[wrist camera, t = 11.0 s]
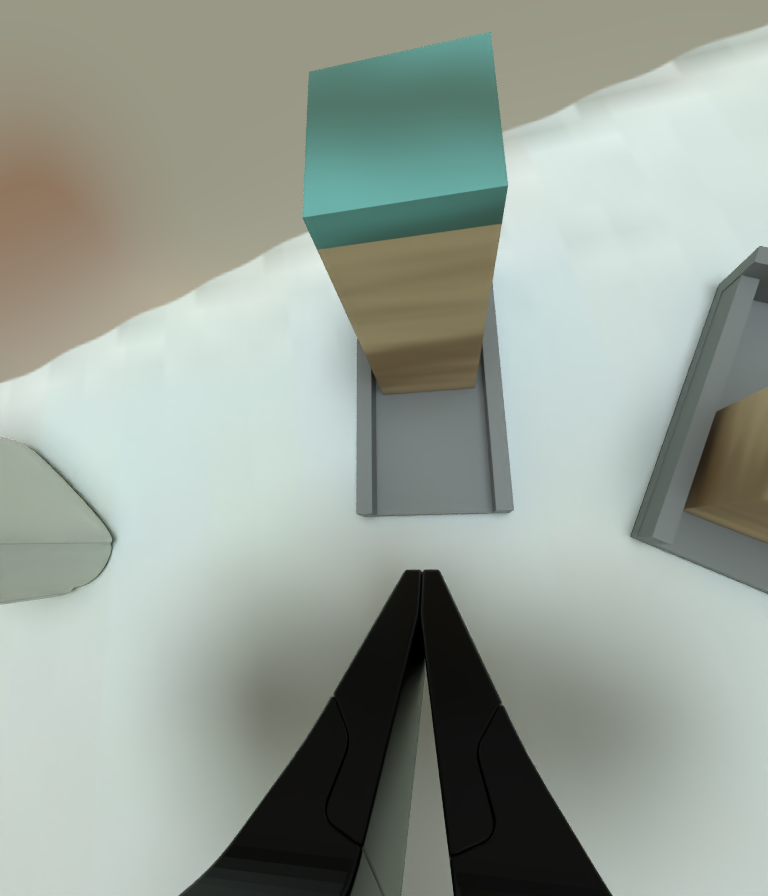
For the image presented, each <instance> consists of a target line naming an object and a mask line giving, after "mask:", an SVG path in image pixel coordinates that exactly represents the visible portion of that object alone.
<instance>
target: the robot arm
mask: <svg viewBox="0 0 768 896" xmlns="http://www.w3.org/2000/svg"><path fill="white" fill-rule="evenodd" d="M425 663H426V671H427V679H428V687H429V696H430V704H431V712H432V720H433V728H434V737H435V745H436V753H437V761H438V769H439V778H440V786H441V794H442V802H443V811H444V819H445V827H446V835H447V843H448V852H449V860H450V868H451V876H452V884H453V893H454V896H613V895H612V894H611V892H610V891H609V889H608V888H607V886H606V884H605V883H604V881H603V880H602V878H601V877H600V875H599V873H598V872H597V870H596V868H595V867H594V865H593V863H592V862H591V860H590V858H589V857H588V855H587V854H586V852H585V850H584V849H583V847H582V845H581V844H580V842H579V840H578V839H577V837H576V835H575V834H574V832H573V830H572V829H571V827H570V825H569V824H568V822H567V820H566V819H565V817H564V815H563V814H562V812H561V811H560V809H559V807H558V806H557V804H556V802H555V801H554V799H553V797H552V796H551V794H550V792H549V791H548V789H547V787H546V786H545V784H544V782H543V780H542V779H541V777H540V775H539V773H538V772H537V770H536V768H535V766H534V764H533V763H532V761H531V759H530V757H529V756H528V754H527V752H526V750H525V748H524V746H523V744H522V742H521V740H520V738H519V736H518V734H517V732H516V730H515V728H514V726H513V724H512V722H511V720H510V718H509V716H508V714H507V712H506V709H505V707H504V706H503V705H502V701H501V699H500V697H499V695H498V693H497V691H496V689H495V687H494V684H493V682H492V680H491V678H490V676H489V674H488V672H487V670H486V667H485V665H484V663H483V661H482V659H481V657H480V655H479V653H478V651H477V648H476V646H475V644H474V642H473V640H472V638H471V636H470V634H469V631H468V629H467V627H466V625H465V623H464V621H463V619H462V617H461V615H460V612H459V610H458V608H457V606H456V604H455V602H454V600H453V598H452V595H451V593H450V591H449V589H448V587H447V585H446V583H445V581H444V578H443V576H442V574H441V572H440V571H439V570H424V571H423V572H422V571H421V570H406V571H405V572H404V573H403V575H402V576H401V578H400V580H399V581H398V583H397V585H396V587H395V588H394V590H393V592H392V593H391V595H390V597H389V599H388V600H387V602H386V604H385V605H384V607H383V609H382V611H381V612H380V614H379V616H378V617H377V619H376V621H375V623H374V624H373V626H372V628H371V630H370V631H369V633H368V635H367V636H366V638H365V640H364V642H363V643H362V645H361V647H360V648H359V650H358V652H357V654H356V655H355V657H354V659H353V660H352V662H351V664H350V666H349V667H348V669H347V671H346V672H345V674H344V676H343V678H342V679H341V681H340V683H339V685H338V686H337V688H336V690H335V691H334V697H333V696H332V697H331V698H330V700H329V701H328V703H327V705H326V707H325V708H324V710H323V712H322V713H321V715H320V717H319V718H318V720H317V722H316V723H315V725H314V726H313V728H312V730H311V731H310V733H309V734H308V736H307V738H306V739H305V741H304V742H303V744H302V745H301V746H300V748H299V749H298V751H297V752H296V754H295V755H294V757H293V758H292V760H291V761H290V762H289V764H288V765H287V767H286V768H285V769H284V771H283V772H282V774H281V775H280V776H279V778H278V779H277V781H276V782H275V783H274V785H273V786H272V787H271V789H270V790H269V792H268V793H267V794H266V796H265V797H264V798H263V800H262V801H261V803H260V804H259V805H258V807H257V808H256V809H255V811H254V812H253V814H252V815H251V816H250V818H249V819H248V821H247V822H246V823H245V825H244V826H243V827H242V829H241V830H240V832H239V833H238V834H237V836H236V837H235V838H234V840H233V841H232V842H231V844H230V845H229V846H228V847H227V849H226V850H225V851H224V852H223V853H222V855H221V856H220V857H219V858H218V859H217V860H216V861H215V862H214V863H213V865H212V866H211V867H210V868H209V869H208V870H207V871H206V872H205V873H204V874H203V875H202V876H201V877H200V878H198V879H197V880H196V881H195V882H194V883H193V884H192V885H190V886H189V887H188V888H187V889H186V890H185V891H183V892H182V893H181V894H180V895H179V896H401V891H402V882H403V873H404V863H405V854H406V845H407V835H408V826H409V816H410V807H411V798H412V788H413V779H414V769H415V760H416V751H417V741H418V732H419V722H420V713H421V704H422V694H423V685H424V675H425Z"/></svg>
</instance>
